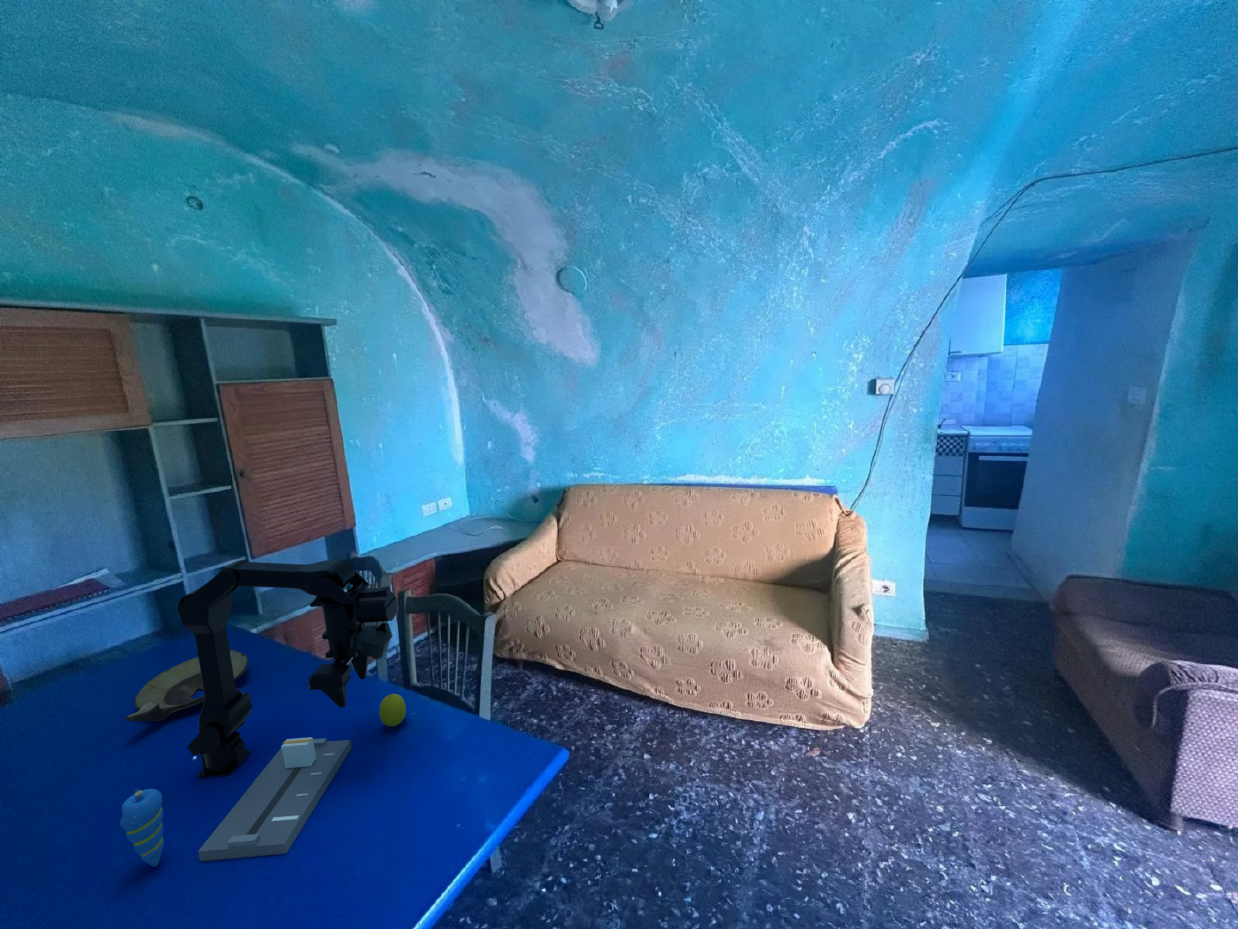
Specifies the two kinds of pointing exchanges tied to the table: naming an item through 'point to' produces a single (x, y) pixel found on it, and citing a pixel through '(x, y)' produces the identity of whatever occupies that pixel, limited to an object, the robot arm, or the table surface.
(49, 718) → the table surface
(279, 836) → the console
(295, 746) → the fader tab
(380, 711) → the lemon
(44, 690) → the table surface
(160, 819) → the ornament
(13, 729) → the table surface
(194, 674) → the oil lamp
